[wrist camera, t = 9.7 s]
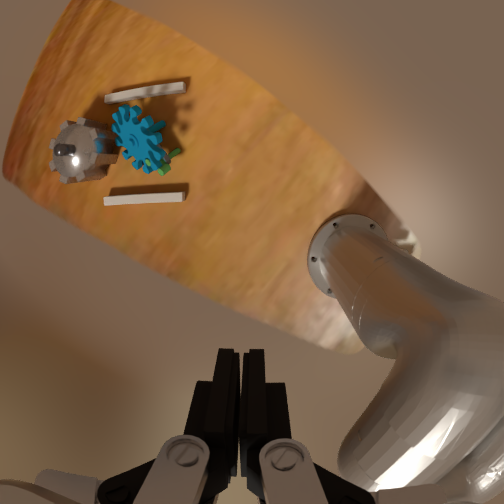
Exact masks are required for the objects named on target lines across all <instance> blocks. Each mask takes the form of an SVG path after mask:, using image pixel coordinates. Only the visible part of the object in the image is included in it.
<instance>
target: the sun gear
mask: <svg viewBox="0 0 504 504" xmlns="http://www.w3.org/2000/svg"><path fill="white" fill-rule="evenodd" d="M106 126H107V124H105V123H102V122H98V121H94V120H90V119H85V118H81V117H78V120H77V122H74V121H69V120H66V121H65V122H64V123H62V124H61V125H60V129H61V132H60V134H59V135H58V137H57V139H53V138H52V139H51V142H50V146H49V148H50V149H53V160H52V161H51V162H49V165H50V168H51V172H53V171H58V172H59V173H60V174H61V176H60V180H59V181H60V182H63V183H65V184H70V183H77V182H85V181H93V180H100V179H102V178H103V177H105V176H107V174H106V172H105V169H106V168H107V166H108V165H109V164H115V163H116V160H117V157H118V155H117V154H114V153H113V150H114V146H113V144H114V143H115V138H117V135H116V133H115V132H112V131H107V130H105V129H106Z"/></svg>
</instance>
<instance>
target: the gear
mask: <svg viewBox="0 0 504 504" xmlns="http://www.w3.org/2000/svg"><path fill="white" fill-rule="evenodd" d="M129 112H130V117H129ZM141 113H142V110H141V109H140V108H139V107H138V106H137V105H135V106H133V107H131V108H130V106H129V105H126V104H124V105H122V106H120V107H119V111H117V112H116V113H114V114H113V115H112V117H113V119H114V120H115V121H116V122H115V123H113V124H112V126H111V129H112V131H113V132H115V133H117V134H118V135H119V136H118V137H117V138H115V143H116V145H117V146H123V147H125V148H126V150H125V151H123V152H122V155H123V156H124V158H125V160H127V159H129V158H130V157H132V156H134V157H135V159H136V160H135V161H134V162H132V165H133V167H134V168H135V169H137V170H138V169H139V168H141V167H142V161H143V163H144V166H143V171H144V172H145V173H148V174H149V173H151V172H152V171H153V170H157V169H158V173H159V174H160V175H161V176H163V175H164V174H166V173H167V172H168V171H169V170H171V167H170V165H169V164H170V163H171V160H170V159H171V158H173V157H174V156H176V155H177V154H178V153H180V149H179V148H176V149H175V150H173V151H172V152H171V153H169V154H168V155H167V153H166V152H165V151H164V150H163V148H162V147H161V146H160V144H159V143H161V142H162V135H161V133H160V132H156V131H158V130H160V129H161V128H163V127H165V126H166V123H165V121H163V120H161V121H159V122H158V123H156V124H154V122H153V120H152V118H151V116H150V115H149V116H147V117H145V118H143V119H142V121H141V122H139V121H138V119H137V116H138V115H140V114H141ZM150 126H151V127H150ZM155 132H156V133H155Z"/></svg>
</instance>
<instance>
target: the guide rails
mask: <svg viewBox="0 0 504 504" xmlns="http://www.w3.org/2000/svg"><path fill="white" fill-rule="evenodd" d="M176 93H186V84H185V83H184V82H176V83H168V84H161V85H154V86H148V87H142V88H136V89H131V90H126V91H121V92H116V93H112V94H108V95H105V100H104V103H107V104H114V103H118V102H124V101H129V100H134V99H140V98H146V97H153V96H160V95H168V94H176ZM183 201H185V192H165V193H146V194H130V195H116V196H107V197H104V205H119V204H137V203H158V202H183Z"/></svg>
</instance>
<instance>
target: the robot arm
mask: <svg viewBox="0 0 504 504" xmlns="http://www.w3.org/2000/svg"><path fill="white" fill-rule="evenodd" d="M333 223H336V225H335V226H333ZM370 224H372V225H371V227H370ZM313 256H314V259H311V258H312V257H313ZM307 264H308V270H309V273H310V276H311V278H312V280H313V282H314V283H315V285H316V286H317V287H318V288H319V289H320V290H321V291H322V292H323V293H324V294H326V295H327V296H330V297H332V298H335V299H337V300H338V302H339V304H340V305H341V307H342V309H343V310H344V312H345V314H346V316H347V317H348V319H349V321H350V322H351V324H352V326H353V328H354V329H355V331H356V333H357V335H358V336H359V338H360V339H361V341H362V342H363V344H364V345H365V346H366V347H367V348H368V349H369V350H370V351H371V352H373V353H374V354H376V355H378V356H380V357H384V358H388V359H396V361H395V363H394V365H393V367H392V369H391V371H390V373H389V375H388V376H387V377H386V379H385V380H384V382H383V384H382V386H381V388H380V390H379V391H378V393H377V394H376V396H375V397H374V398H373V400H372V401H371V403H370V404H369V405H368V407H367V408H366V410H365V411H364V412H363V413H362V415H361V416H360V417H359V419H358V420H357V421H356V422H355V424H354V425H353V426H352V428H351V429H350V430H349V432H348V433H347V435H346V436H345V438H344V440H343V441H342V443H341V446H340V448H339V451H338V456H337V466H338V471H339V474H340V477H339V476H337V475H335V474H333V473H331V472H329V471H328V470H326V469H324V468H322V467H320V466H319V465H317V464H315V463H313V462H312V459H311V456H310V453H309V451H308V450H307V448H306V447H305V446H304V445H303V444H302V443H300V442H298V441H296V440H293V439H292V437H291V429H290V420H289V412H288V404H287V395H286V387H285V383H265V361H264V349H250V351H249V353H244V356H243V374H242V389H241V394H240V359H239V353H234V349H223V348H219V351H218V355H217V361H216V365H215V371H214V376H213V381H197V383H196V387H195V390H194V395H193V399H192V402H191V406H190V411H189V414H188V418H187V422H186V426H185V430H184V434H183V435H179V436H175V437H172V438H170V439H169V440H168V441H166V442H165V443H164V445H163V446H162V448H161V450H160V452H159V454H158V456H157V458H155V459H153V460H151V461H149V462H147V463H145V464H143V465H140V466H138V467H136V468H133V469H131V470H129V471H126V472H124V473H121V474H119V475H116V476H114V477H111V478H109V479H107V480H105V481H103V480H98V479H97V478H95V477H88V476H82V475H76V474H70V473H65V472H61V471H57V470H52V469H46V470H43V471H41V472H40V473H39V474H38V475H37V477H36V479H35V483H34V484H32V483H28V482H24V481H20V480H13V479H2V480H0V504H216V503H217V500H218V495H219V493H220V492H222V491H223V490H225V489H226V488H227V487H228V483H230V479H231V476H234V477H236V475H237V460H238V443H239V444H240V463H241V476H242V477H247V489H249V490H250V491H251V492H252V493H254V494H255V495H256V496H257V499H258V504H483V503H485V502H487V501H489V500H490V499H492V498H493V497H495V496H496V495H498V494H499V493H500V492H502V491H503V490H504V302H503V301H501V300H499V299H497V298H495V297H493V296H490V295H488V294H485V293H483V292H480V291H478V290H475V289H472V288H470V287H467V286H465V285H463V284H460V283H458V282H456V281H454V280H452V279H450V278H448V277H446V276H445V275H443V274H441V273H439V272H437V271H436V270H434V269H433V268H431V267H429V266H428V265H426V264H425V263H423V262H421V261H420V260H418V259H417V258H415V257H413V256H412V255H410V254H409V253H408V250H402V249H400V248H399V247H397V246H395V245H394V244H392V243H390V242H389V241H388V238H387V235H386V234H385V232H384V230H383V229H382V228H381V227H380V225H379V224H378V223H376V222H375V221H373V220H372V219H370V218H368V217H366V216H363V215H359V214H344V215H340V216H337V217H335V218H333V219H331V220H329V221H328V222H326V223H325V224H324V225H323V226H322V227H321V228H320V229H319V230H318V231H317V233H316V234H315V235H314V237H313V239H312V241H311V243H310V246H309V249H308V256H307ZM329 288H330V289H329ZM328 289H329V290H328Z"/></svg>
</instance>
